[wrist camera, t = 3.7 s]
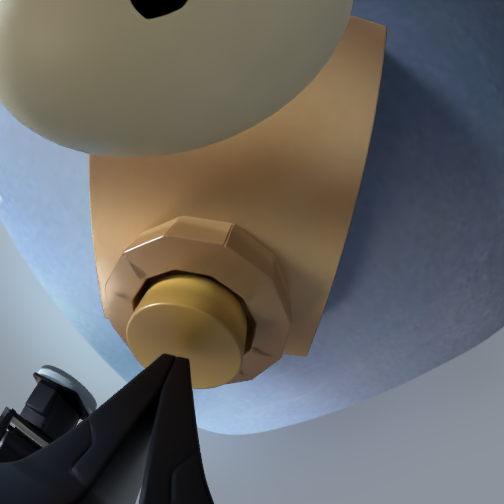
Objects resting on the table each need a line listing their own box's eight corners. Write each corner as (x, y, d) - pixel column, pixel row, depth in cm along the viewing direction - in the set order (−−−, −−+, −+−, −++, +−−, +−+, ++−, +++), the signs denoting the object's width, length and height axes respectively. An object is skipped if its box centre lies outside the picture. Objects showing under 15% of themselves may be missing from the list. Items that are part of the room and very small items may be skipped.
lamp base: (299, 340, 15) (303, 399, 12) (123, 307, 15) (92, 355, 12) (369, 40, 8) (409, 11, 5) (132, 19, 9) (81, -6, 5)
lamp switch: (240, 364, 11) (235, 398, 10) (147, 345, 11) (133, 375, 10) (255, 284, 10) (250, 317, 8) (140, 263, 10) (118, 291, 8)
